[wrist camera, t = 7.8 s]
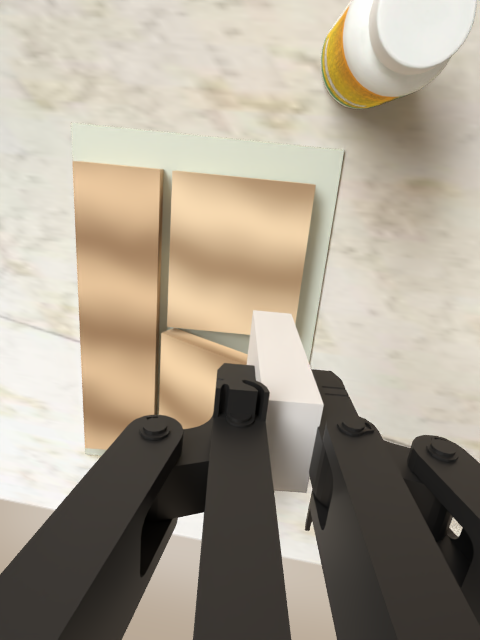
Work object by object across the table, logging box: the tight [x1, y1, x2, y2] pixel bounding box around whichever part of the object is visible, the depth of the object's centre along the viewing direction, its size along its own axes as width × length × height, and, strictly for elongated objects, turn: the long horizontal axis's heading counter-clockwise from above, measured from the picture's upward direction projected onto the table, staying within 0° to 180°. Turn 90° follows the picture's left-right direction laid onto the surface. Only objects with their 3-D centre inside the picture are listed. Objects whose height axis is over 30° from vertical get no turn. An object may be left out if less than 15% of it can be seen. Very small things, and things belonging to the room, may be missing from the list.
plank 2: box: [159, 328, 248, 429], centre depth 30 cm, size 10×9×1 cm
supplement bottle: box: [321, 0, 477, 109], centre depth 21 cm, size 5×5×10 cm
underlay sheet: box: [71, 122, 344, 455], centre depth 32 cm, size 26×18×1 cm
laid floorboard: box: [73, 161, 164, 450], centre depth 31 cm, size 22×5×1 cm, turn 175°
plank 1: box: [167, 170, 316, 335], centre depth 29 cm, size 10×9×1 cm
